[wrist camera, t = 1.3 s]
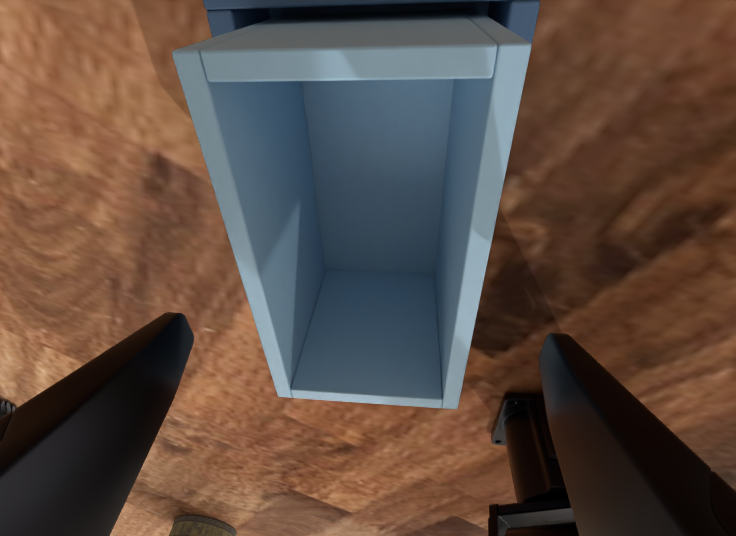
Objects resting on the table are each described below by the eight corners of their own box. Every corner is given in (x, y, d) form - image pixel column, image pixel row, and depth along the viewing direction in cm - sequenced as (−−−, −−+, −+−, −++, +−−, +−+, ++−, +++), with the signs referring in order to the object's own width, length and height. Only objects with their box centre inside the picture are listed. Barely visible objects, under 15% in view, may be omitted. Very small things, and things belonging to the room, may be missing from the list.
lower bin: (463, 287, 22) (471, 341, 18) (302, 281, 22) (283, 331, 19) (516, -37, 13) (550, -40, 10) (246, -26, 14) (195, -25, 10)
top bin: (444, 276, 20) (457, 409, 14) (318, 271, 21) (277, 397, 15) (476, 8, 13) (533, 42, 7) (280, 14, 14) (169, 50, 8)
